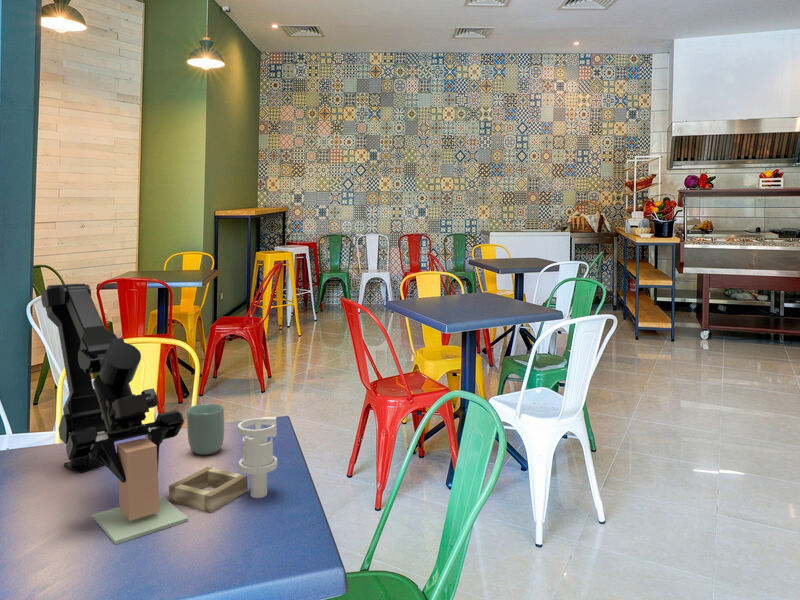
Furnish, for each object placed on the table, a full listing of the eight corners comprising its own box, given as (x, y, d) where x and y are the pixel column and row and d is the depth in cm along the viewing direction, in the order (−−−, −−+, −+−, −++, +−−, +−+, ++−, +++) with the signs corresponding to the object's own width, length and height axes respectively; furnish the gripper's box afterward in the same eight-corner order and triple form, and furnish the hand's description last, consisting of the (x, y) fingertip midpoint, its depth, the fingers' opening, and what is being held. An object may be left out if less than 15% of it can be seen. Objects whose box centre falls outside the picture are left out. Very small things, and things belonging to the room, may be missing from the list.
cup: (214, 459, 136) (212, 415, 135) (181, 456, 138) (179, 412, 137) (231, 447, 144) (229, 404, 143) (199, 444, 145) (198, 402, 144)
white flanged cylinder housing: (277, 501, 117) (276, 423, 115) (238, 504, 115) (236, 425, 113) (278, 485, 124) (276, 411, 122) (241, 487, 122) (239, 413, 120)
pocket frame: (169, 501, 116) (168, 485, 116) (207, 481, 125) (207, 466, 125) (211, 512, 112) (210, 496, 112) (247, 490, 121) (247, 475, 121)
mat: (92, 517, 110) (92, 514, 110) (161, 497, 118) (161, 494, 118) (115, 544, 101) (115, 541, 101) (187, 521, 109) (187, 517, 109)
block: (120, 510, 109) (116, 444, 108) (149, 501, 113) (146, 437, 111) (129, 520, 106) (126, 452, 104) (159, 511, 109) (156, 445, 107)
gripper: (66, 384, 103) (90, 470, 96) (178, 367, 115) (206, 442, 108) (57, 419, 110) (78, 501, 103) (163, 399, 122) (188, 471, 115)
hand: (140, 477), depth 107 cm, fingers closed on block, 5 cm apart
